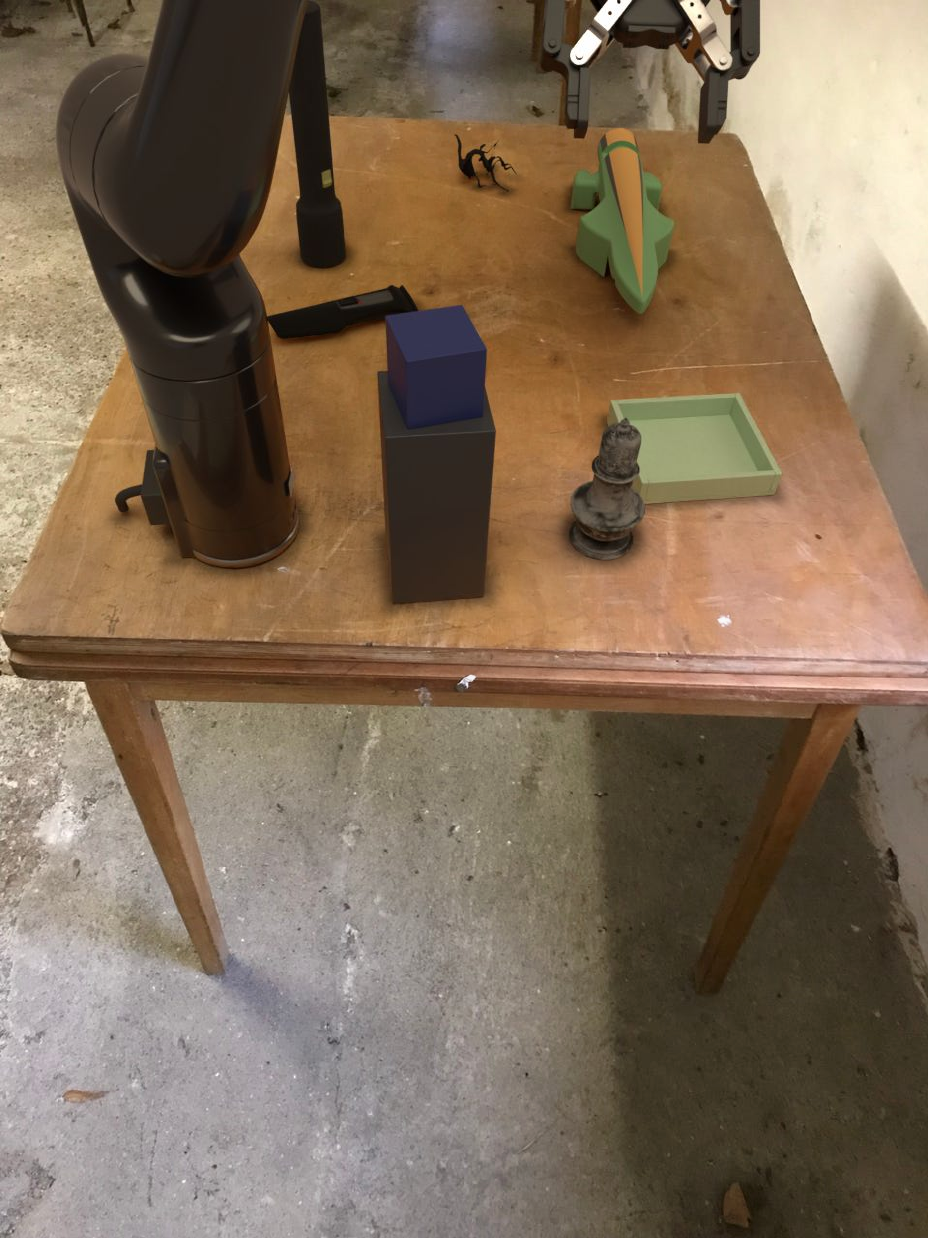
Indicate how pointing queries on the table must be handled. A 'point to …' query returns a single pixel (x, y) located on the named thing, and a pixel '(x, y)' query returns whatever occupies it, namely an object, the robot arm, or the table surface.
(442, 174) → the table surface
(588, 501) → the dark grey chess piece
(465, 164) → the creature
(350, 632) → the table surface
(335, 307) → the electric trimmer
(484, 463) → the dark stand
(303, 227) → the flashlight
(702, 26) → the robot arm
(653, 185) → the toy spaceship
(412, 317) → the navy block
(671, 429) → the pale tray
